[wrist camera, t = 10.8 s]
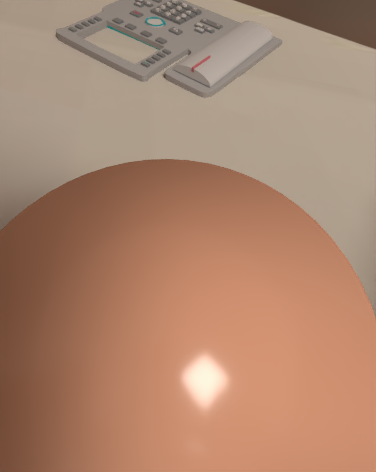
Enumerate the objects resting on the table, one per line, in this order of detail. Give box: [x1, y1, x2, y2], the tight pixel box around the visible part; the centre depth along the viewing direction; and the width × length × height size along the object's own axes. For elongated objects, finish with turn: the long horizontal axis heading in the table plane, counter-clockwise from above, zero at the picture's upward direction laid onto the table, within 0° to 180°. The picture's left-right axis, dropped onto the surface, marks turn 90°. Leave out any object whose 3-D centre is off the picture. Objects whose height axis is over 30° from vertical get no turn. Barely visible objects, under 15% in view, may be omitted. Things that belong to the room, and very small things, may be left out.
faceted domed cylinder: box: [0, 159, 376, 472], centre depth 10 cm, size 7×7×12 cm
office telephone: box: [56, 0, 282, 98], centre depth 35 cm, size 23×3×20 cm
